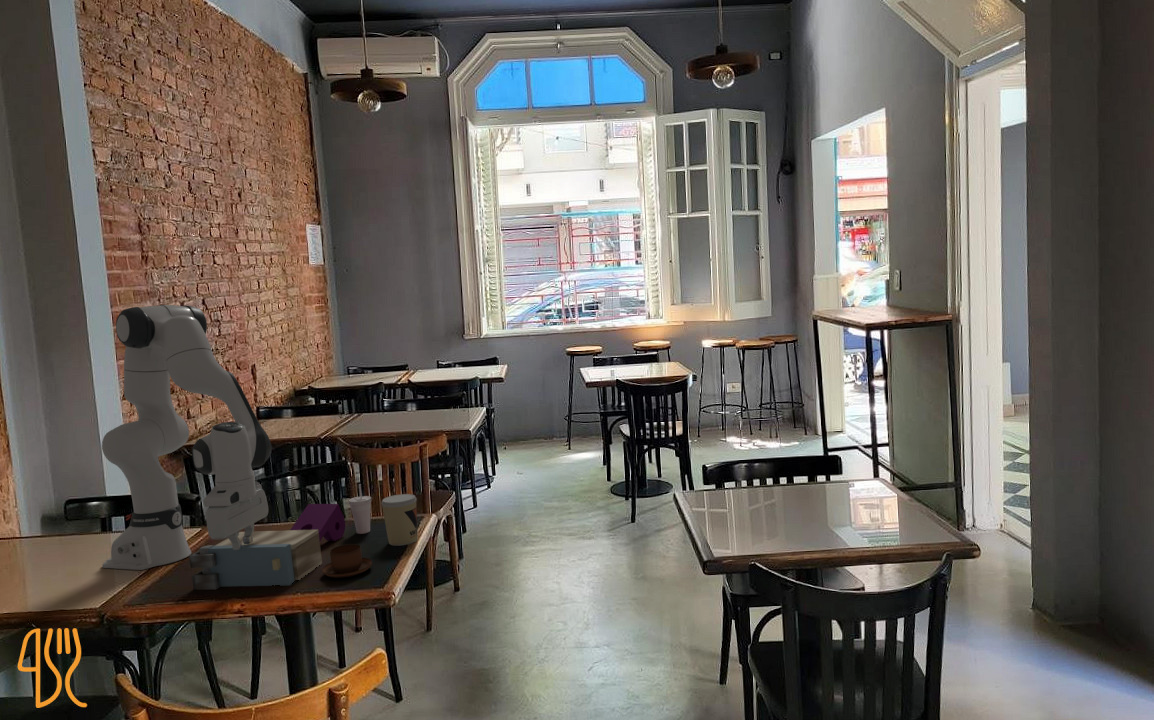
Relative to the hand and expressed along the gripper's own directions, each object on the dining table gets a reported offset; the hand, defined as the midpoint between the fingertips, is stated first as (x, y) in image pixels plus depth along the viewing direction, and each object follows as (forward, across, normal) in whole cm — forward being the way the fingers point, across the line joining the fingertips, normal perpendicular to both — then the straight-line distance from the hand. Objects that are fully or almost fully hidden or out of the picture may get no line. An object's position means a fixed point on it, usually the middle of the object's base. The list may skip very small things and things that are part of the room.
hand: (243, 546), depth 206 cm
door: (+10, 0, 0) cm, 10 cm away
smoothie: (+10, -41, +11) cm, 44 cm away
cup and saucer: (+10, -7, +23) cm, 26 cm away
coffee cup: (+10, -31, +28) cm, 43 cm away
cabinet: (+10, -5, 0) cm, 11 cm away
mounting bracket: (+10, -30, +2) cm, 31 cm away
